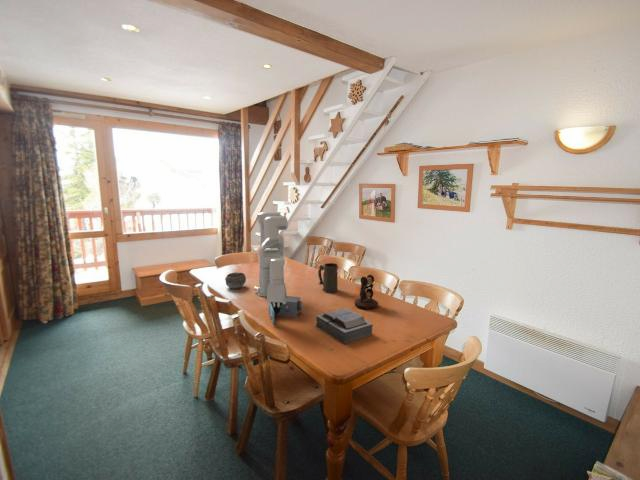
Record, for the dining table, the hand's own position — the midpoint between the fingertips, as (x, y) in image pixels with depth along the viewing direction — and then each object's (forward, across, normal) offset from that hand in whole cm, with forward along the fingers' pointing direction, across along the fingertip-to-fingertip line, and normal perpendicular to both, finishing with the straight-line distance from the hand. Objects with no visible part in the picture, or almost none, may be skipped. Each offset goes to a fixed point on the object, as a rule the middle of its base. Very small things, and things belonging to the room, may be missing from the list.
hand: (277, 313), depth 174 cm
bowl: (+3, -46, +50) cm, 69 cm away
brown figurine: (+5, +48, +36) cm, 60 cm away
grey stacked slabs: (+6, +37, -2) cm, 38 cm away
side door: (+5, -4, +2) cm, 7 cm away
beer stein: (+4, +20, +60) cm, 63 cm away
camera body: (+5, +2, +13) cm, 14 cm away
